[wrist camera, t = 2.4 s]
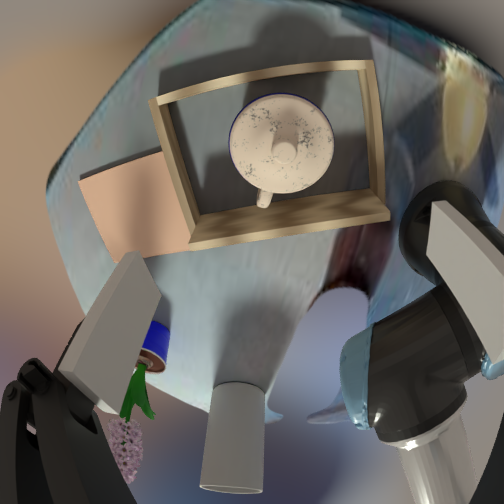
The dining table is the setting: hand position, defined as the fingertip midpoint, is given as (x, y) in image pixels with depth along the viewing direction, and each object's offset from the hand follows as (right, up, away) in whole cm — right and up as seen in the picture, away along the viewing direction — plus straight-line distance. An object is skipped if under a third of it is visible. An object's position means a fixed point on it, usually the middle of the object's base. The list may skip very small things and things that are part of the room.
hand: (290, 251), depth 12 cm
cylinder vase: (-5, -34, +50) cm, 60 cm away
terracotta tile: (-18, +5, +24) cm, 30 cm away
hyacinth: (-21, -15, +38) cm, 46 cm away
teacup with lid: (+1, +13, +19) cm, 23 cm away
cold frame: (+1, +13, +19) cm, 23 cm away
